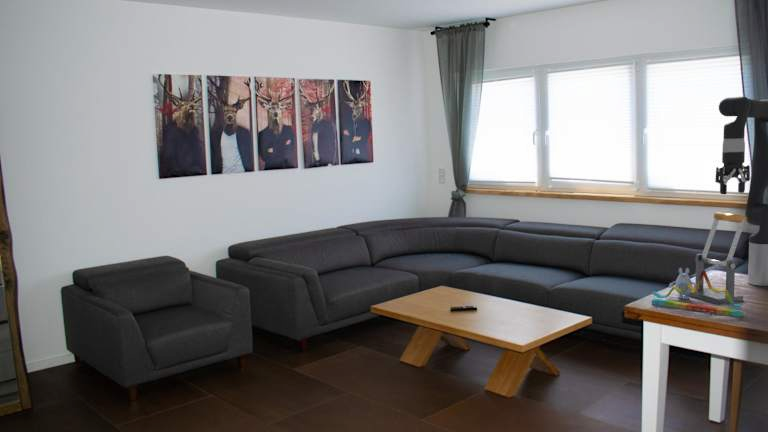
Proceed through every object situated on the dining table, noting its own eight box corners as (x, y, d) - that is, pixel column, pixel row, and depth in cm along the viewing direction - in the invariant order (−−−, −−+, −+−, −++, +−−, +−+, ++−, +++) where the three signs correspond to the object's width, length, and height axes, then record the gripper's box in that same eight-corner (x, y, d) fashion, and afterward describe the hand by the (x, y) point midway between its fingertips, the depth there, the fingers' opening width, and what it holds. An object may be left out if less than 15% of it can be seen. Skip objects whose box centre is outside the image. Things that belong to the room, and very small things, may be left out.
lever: (704, 262, 267) (720, 213, 268) (730, 268, 255) (748, 217, 255) (698, 260, 266) (715, 211, 267) (724, 266, 254) (742, 214, 254)
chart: (651, 305, 257) (651, 266, 255) (654, 303, 259) (655, 264, 257) (739, 318, 236) (740, 275, 234) (741, 316, 238) (743, 273, 237)
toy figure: (667, 299, 263) (668, 268, 262) (669, 295, 269) (669, 265, 267) (698, 301, 258) (698, 270, 257) (698, 297, 264) (699, 267, 263)
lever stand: (708, 291, 273) (709, 252, 271) (745, 301, 256) (746, 259, 254) (684, 294, 269) (685, 254, 267) (719, 305, 252) (720, 262, 250)
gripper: (740, 149, 264) (738, 191, 266) (710, 151, 259) (709, 193, 261) (756, 150, 257) (755, 193, 259) (726, 151, 252) (725, 195, 254)
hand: (732, 193), depth 260 cm, fingers open, 8 cm apart
